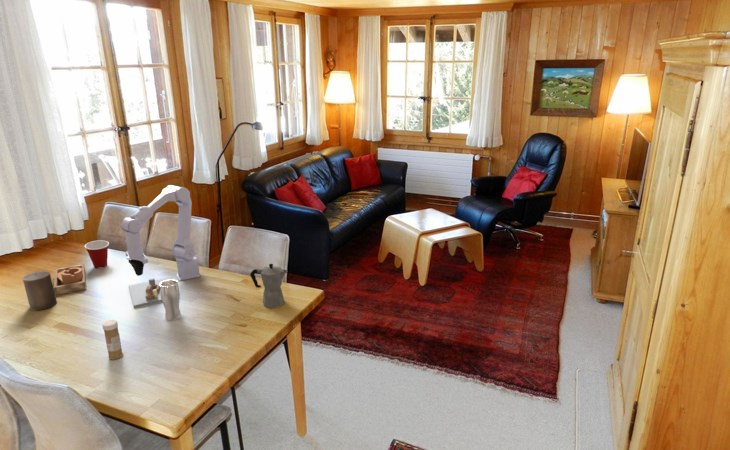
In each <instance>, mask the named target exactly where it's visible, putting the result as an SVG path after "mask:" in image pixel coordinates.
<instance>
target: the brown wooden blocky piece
mask: <svg viewBox="0 0 730 450" xmlns="http://www.w3.org/2000/svg"><path fill="white" fill-rule="evenodd" d="M155 289H157V292H159V289H160V284H156V288H155ZM153 290H154V289H152V286H151V285H148V286H147V288H146V290H145V291H146V293H147V294H146V296H145V297H146V299H151V298H154V296H153Z"/></svg>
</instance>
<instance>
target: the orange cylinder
mask: <svg viewBox="0 0 730 450" xmlns="http://www.w3.org/2000/svg"><path fill="white" fill-rule="evenodd" d="M57 278H58V282H59V285H60V286H61V285H66V284H71V283H77V282H82V278H83V272H82V268H78V267H75V268H69V270H63V271H62V272H59V273H58V275H57Z"/></svg>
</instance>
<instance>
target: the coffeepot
mask: <svg viewBox="0 0 730 450" xmlns="http://www.w3.org/2000/svg"><path fill="white" fill-rule="evenodd" d="M268 265H269V266H266V267H264V268H260V269H256V268H255V269H253V270H252V271H251V272H250V274H249V275H250V277H251V280H252V281H253V285H254V286H255V288H256V289H257V288H262V285H263V287H264V289H263V296H262V304H263V306H264V307H265V308H268V309H275V308H279V307H281V306H283V305H284V303H285V299H284V294H283V291H282V287H281V286H282V283H283V278H284V277H285V275H286V274H287V273H288V270H287V269H285V268H284V269H283V268H282V267H281V266H275V265H274V264H273V263H269V264H268ZM255 274H256V275H260V276H261V281H262V285H261V284H259V283H258V281H257V277H256V275H255Z"/></svg>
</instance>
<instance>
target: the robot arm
mask: <svg viewBox="0 0 730 450" xmlns="http://www.w3.org/2000/svg"><path fill="white" fill-rule="evenodd" d="M167 202H174V203H175V204H176V205H177V206H178V217H177V218H178V219H177V238H176V239H175V240H174V241H173V246H172V249H171V255H173V257H174V259H175V260H176V267H177V273H176V274H175V275H176V277H177V279H178V281H185V280H191V279H196V278H199V277H201V275H200V267H199V261H198V258H197V256H195V255H196V251H195V247H194V246H195V245H194V242H193V241H191V228H192V227H191V225H192V224H191V223H192V222H191V221H192V207H193V206H192V205H193V204H192V198H191V192H190V190H189V189H188V188H186V187H184V186H177V185H173V184H169V185H167V186H166V187H164V188H163V189H162V190H161V193H160V194H158V196H156V197H155V198H154V199H153V200H152V201H151V202H150V203H149V204H148V205H147V206H146V205H143V206H139V207H138V210H137V211H136V212H134V213H133V214H131V215H129V217H125V218H124V219H123V220H122V221H121V223H120V229H121V230H122V231H123V232H124V236H125V241H126V248H127V251H125V252H124V253H125V257H126V259H127V260H128V263H129V265H130V266H131V267H132V269H133V271H134V273H135V275H136V276H137V277H139V276H141V275H142V276H143V274H144V266H145V264H147V263H149V258H148V257H146V255H145V253H144V249H143V243H142V236H141V230H142V228H143V226H144V224H145V223H146V222H148V221H149V220H150V219H151V218H152V217H153V216H154V212H156V211H157V210H158V209H159V208H161V207H162V206H163V205H165V204H167Z"/></svg>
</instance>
